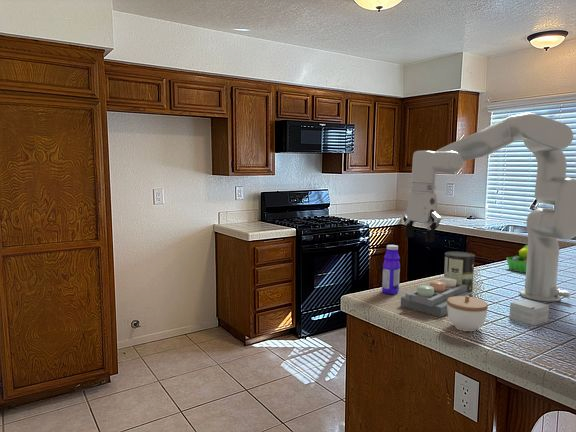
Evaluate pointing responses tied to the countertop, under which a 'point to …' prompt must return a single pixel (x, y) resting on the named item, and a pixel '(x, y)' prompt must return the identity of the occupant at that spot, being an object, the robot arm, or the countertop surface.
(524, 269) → the fruit basket
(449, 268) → the coffee can
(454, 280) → the cream button
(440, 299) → the grey compartment tray
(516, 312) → the small box
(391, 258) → the bottle
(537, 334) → the countertop surface
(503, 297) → the countertop surface
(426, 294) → the sage button
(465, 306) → the lidded jar
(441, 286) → the peach rounded dome
